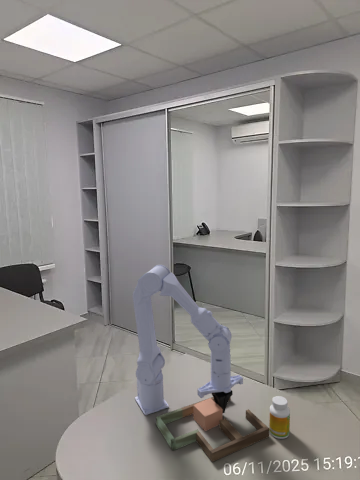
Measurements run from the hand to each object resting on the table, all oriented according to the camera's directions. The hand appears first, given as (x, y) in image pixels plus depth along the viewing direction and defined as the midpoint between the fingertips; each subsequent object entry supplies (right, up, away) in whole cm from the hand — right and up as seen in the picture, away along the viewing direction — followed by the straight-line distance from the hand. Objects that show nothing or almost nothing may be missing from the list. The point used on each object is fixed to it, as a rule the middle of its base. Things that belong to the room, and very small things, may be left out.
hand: (221, 411), depth 103 cm
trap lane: (-4, -2, -6) cm, 7 cm away
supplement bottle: (+15, -2, -7) cm, 17 cm away
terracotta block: (-4, -2, -2) cm, 5 cm away
